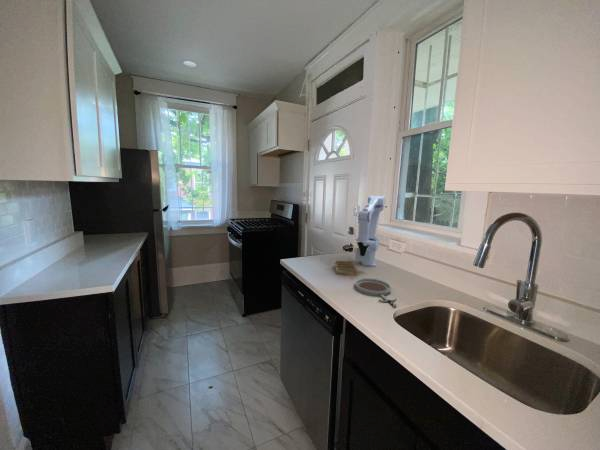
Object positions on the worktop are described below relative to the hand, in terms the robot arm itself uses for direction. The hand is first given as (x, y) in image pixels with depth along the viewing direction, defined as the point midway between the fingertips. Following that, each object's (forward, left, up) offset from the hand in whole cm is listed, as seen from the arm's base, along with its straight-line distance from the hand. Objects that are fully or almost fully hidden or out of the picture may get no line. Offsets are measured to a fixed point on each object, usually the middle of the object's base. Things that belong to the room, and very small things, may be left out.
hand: (362, 255), depth 145 cm
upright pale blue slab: (0, 0, -3) cm, 3 cm away
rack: (+1, -9, -9) cm, 13 cm away
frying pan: (+31, +2, -10) cm, 33 cm away
